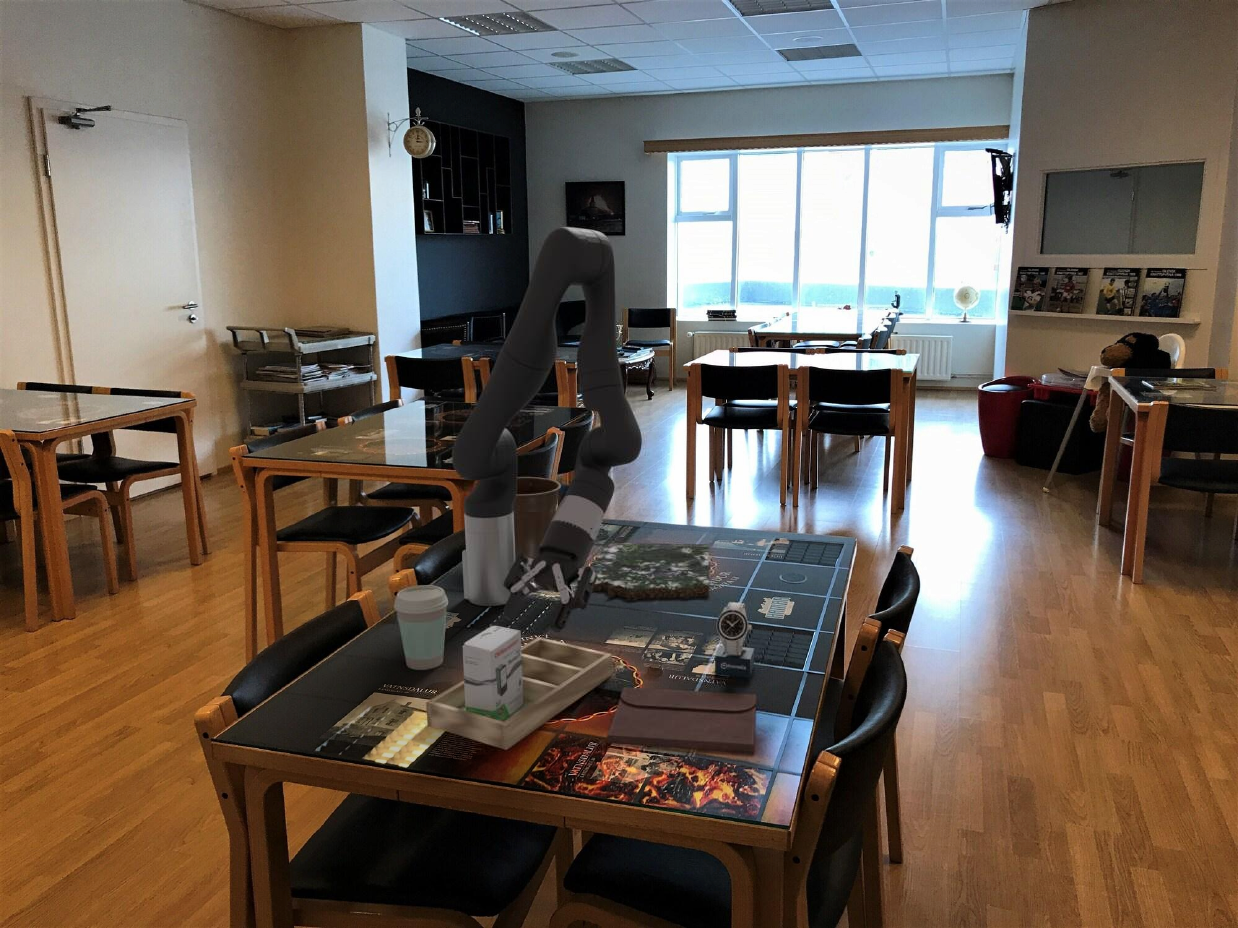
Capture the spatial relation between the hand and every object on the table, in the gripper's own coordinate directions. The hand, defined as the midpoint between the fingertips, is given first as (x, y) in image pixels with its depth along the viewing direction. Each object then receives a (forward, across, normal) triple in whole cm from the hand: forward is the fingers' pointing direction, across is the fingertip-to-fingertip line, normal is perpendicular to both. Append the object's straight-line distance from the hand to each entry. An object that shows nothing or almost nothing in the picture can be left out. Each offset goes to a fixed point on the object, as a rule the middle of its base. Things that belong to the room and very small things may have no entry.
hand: (531, 624), depth 146 cm
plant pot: (-29, -41, +45) cm, 68 cm away
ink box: (+14, 0, +1) cm, 14 cm away
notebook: (+6, +24, +10) cm, 27 cm away
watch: (-8, +23, +23) cm, 34 cm away
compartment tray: (+10, 0, +6) cm, 11 cm away
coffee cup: (+8, -22, +8) cm, 24 cm away
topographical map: (-32, -13, +48) cm, 59 cm away
